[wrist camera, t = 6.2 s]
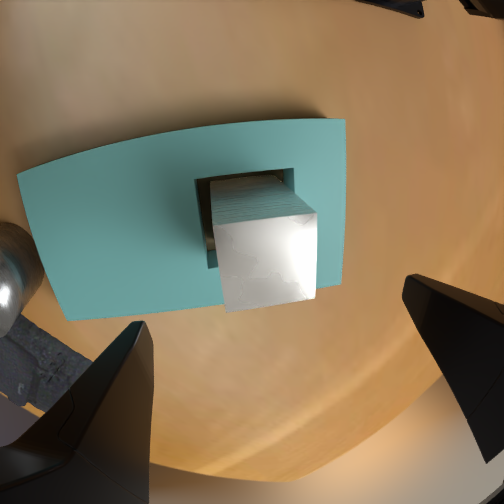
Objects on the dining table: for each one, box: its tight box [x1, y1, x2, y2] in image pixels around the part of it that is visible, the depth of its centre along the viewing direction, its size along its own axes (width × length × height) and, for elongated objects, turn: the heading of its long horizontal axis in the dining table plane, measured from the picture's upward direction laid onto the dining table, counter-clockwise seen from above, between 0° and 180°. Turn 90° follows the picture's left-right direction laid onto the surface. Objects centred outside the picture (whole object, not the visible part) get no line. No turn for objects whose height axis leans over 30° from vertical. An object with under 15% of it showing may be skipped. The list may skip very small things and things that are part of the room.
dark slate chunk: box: [0, 314, 93, 412], centre depth 21 cm, size 15×22×5 cm
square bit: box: [210, 174, 317, 313], centre depth 15 cm, size 4×4×8 cm
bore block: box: [17, 118, 346, 321], centre depth 17 cm, size 20×11×2 cm, turn 95°
